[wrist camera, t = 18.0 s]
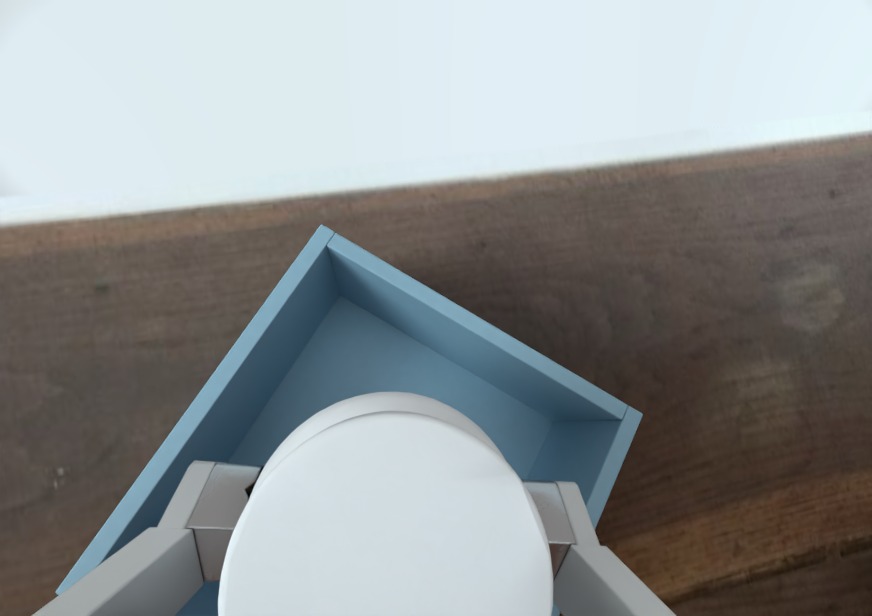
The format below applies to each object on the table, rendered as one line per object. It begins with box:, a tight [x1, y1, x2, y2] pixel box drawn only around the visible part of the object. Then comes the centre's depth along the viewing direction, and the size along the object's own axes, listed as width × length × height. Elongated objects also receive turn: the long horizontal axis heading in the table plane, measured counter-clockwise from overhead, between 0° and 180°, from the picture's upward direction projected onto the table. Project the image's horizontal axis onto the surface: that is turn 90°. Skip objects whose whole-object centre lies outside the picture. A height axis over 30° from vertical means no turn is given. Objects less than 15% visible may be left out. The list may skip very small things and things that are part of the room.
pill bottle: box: [218, 392, 553, 616], centre depth 11 cm, size 6×6×10 cm
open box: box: [55, 225, 643, 616], centre depth 18 cm, size 13×13×7 cm
